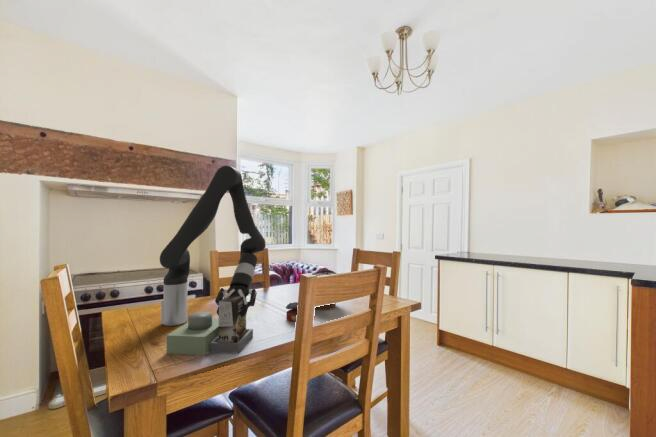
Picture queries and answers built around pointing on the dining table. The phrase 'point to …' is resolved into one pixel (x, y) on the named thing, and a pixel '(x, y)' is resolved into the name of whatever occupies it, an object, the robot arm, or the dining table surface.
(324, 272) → the case
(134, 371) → the dining table surface
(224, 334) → the coffee box
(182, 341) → the grey-green blocky piece
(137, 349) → the dining table surface
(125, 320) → the dining table surface
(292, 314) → the canned food
